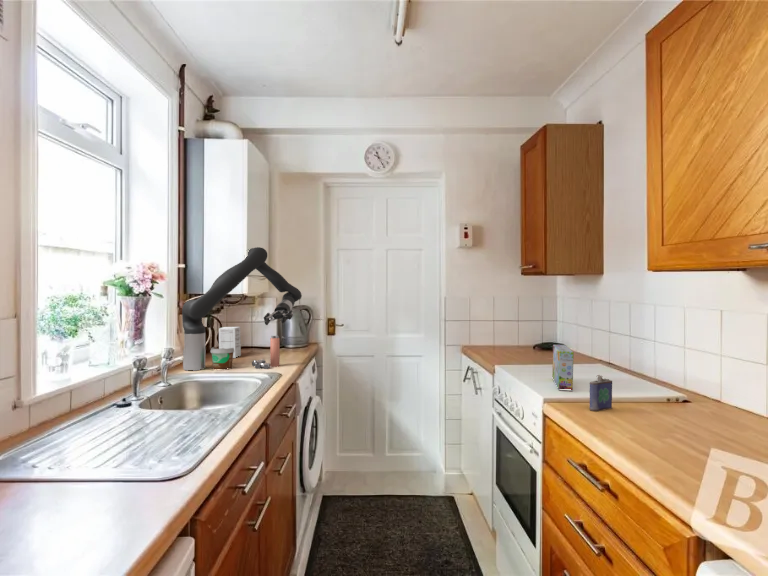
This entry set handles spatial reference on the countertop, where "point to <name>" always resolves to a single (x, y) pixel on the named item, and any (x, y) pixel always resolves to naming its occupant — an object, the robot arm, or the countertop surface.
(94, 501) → the countertop surface
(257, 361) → the shaft
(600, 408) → the flask
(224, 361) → the food container
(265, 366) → the shaft
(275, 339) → the pink capped rod
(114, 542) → the countertop surface
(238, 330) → the supplement box
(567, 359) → the snack box
